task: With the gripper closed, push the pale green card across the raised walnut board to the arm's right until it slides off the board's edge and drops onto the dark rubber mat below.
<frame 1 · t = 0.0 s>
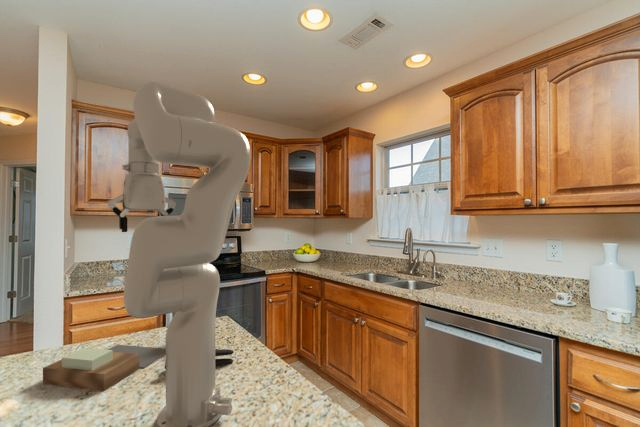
hand: (144, 231, 88), 37 cm above the countertop, tool pointing down, fingers open, 9 cm apart
mat: (129, 356, 93), on the countertop
card: (87, 358, 80), point 5 cm above the countertop, touching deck
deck: (93, 376, 81), on the countertop
can opener: (200, 369, 85), on the countertop
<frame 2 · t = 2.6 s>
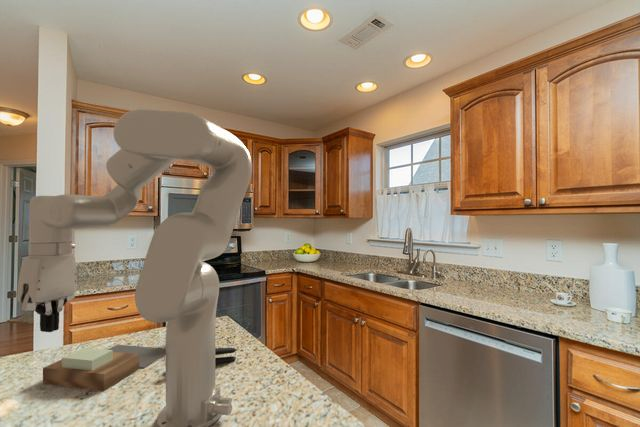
hand: (49, 330, 71), 16 cm above the countertop, tool pointing down, fingers closed
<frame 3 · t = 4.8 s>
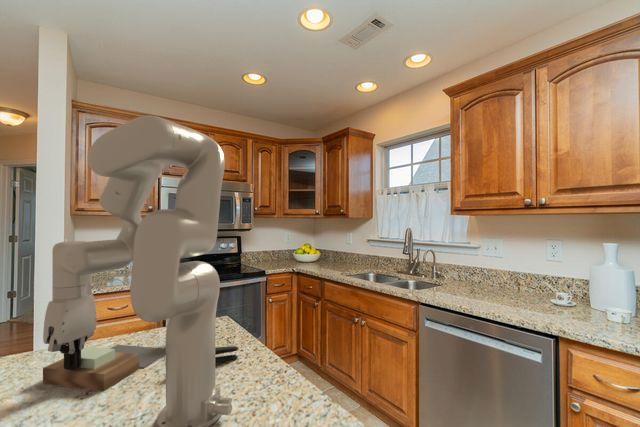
hand: (72, 367, 76), 5 cm above the countertop, tool pointing down, fingers closed
card: (90, 357, 81), point 5 cm above the countertop, touching gripper
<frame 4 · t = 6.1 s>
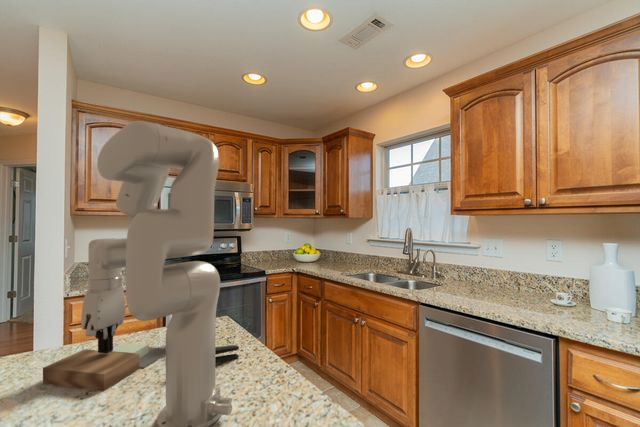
hand: (105, 351, 85), 5 cm above the countertop, tool pointing down, fingers closed
card: (128, 351, 93), point 1 cm above the countertop, tilted 180°, touching mat
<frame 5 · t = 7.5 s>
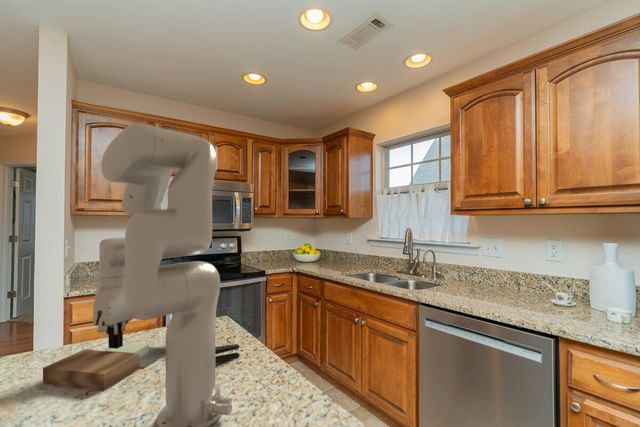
hand: (115, 347, 88), 5 cm above the countertop, tool pointing down, fingers closed
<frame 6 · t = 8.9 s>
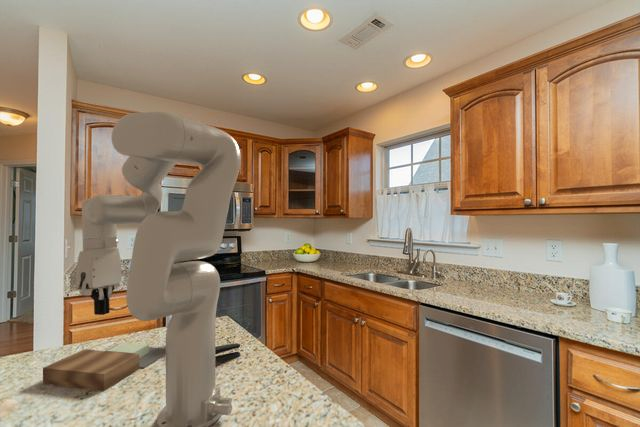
hand: (102, 313, 83), 16 cm above the countertop, tool pointing down, fingers closed
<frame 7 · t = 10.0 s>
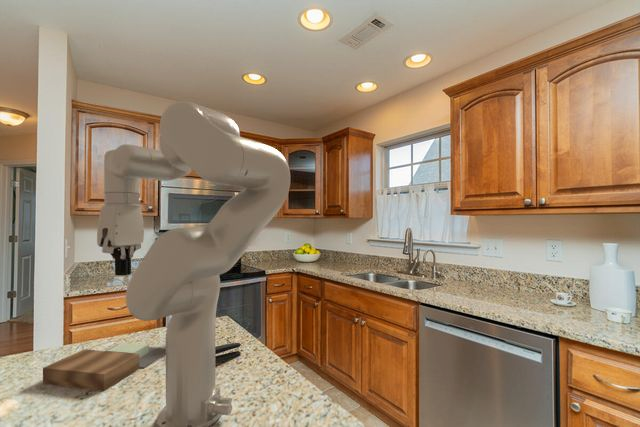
hand: (123, 274, 78), 27 cm above the countertop, tool pointing down, fingers closed
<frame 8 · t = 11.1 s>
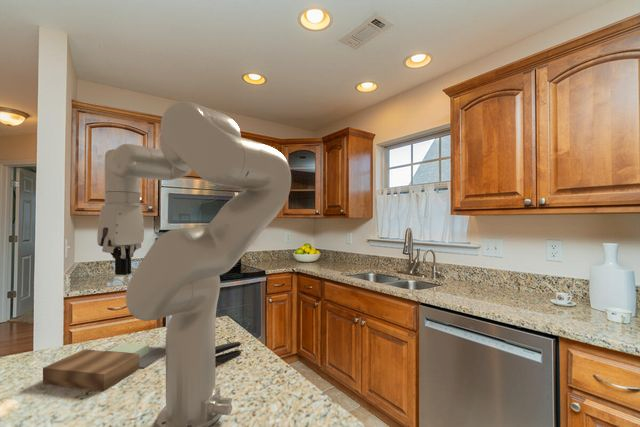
hand: (123, 274, 78), 27 cm above the countertop, tool pointing down, fingers closed
at the end: card point 1.5 cm above the countertop; card inside the target area on the mat (0.5 cm from its centre), point 1.5 cm above the mat's base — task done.
